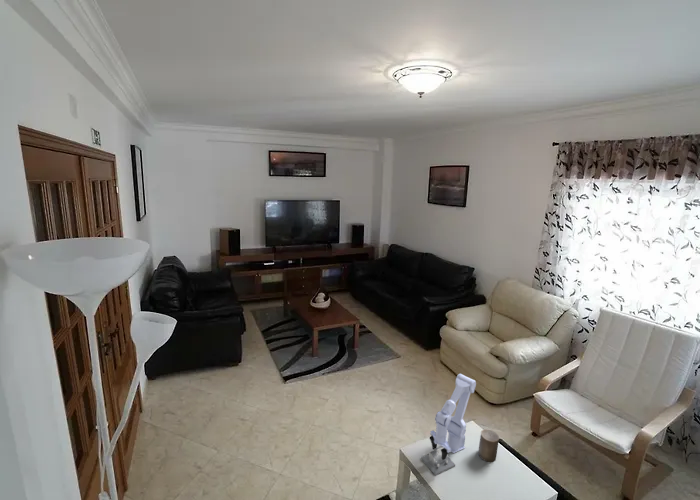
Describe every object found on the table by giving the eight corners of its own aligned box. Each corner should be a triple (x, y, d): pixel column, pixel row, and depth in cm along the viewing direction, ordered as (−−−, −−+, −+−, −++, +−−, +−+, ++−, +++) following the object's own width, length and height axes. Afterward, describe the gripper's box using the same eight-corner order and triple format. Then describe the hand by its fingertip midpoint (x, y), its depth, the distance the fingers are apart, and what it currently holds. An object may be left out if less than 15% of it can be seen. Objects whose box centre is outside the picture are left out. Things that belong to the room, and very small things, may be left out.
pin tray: (440, 450, 202) (440, 446, 201) (455, 466, 192) (455, 461, 191) (421, 458, 196) (421, 454, 195) (435, 475, 186) (435, 470, 185)
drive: (442, 455, 198) (443, 446, 196) (447, 460, 194) (448, 451, 193) (428, 461, 193) (429, 452, 192) (433, 466, 190) (434, 457, 188)
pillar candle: (498, 462, 195) (502, 440, 191) (481, 461, 195) (484, 439, 192) (492, 448, 204) (495, 427, 201) (475, 448, 205) (478, 426, 201)
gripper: (426, 426, 194) (424, 446, 197) (444, 444, 181) (442, 466, 184) (436, 422, 197) (434, 442, 200) (455, 440, 184) (452, 461, 188)
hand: (439, 453), depth 192 cm, fingers open, 7 cm apart
